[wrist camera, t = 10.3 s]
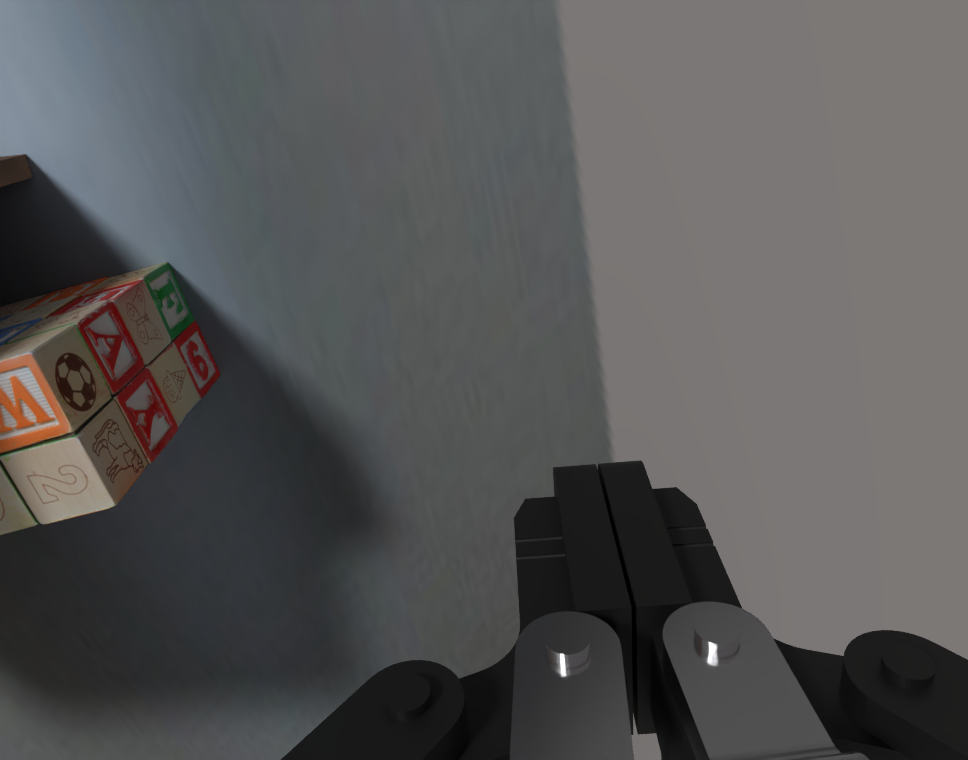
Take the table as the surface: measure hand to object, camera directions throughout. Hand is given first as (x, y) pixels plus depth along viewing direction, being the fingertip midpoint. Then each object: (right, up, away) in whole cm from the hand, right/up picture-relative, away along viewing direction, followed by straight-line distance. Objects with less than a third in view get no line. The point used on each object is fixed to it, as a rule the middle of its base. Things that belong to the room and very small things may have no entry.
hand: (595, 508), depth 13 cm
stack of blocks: (-26, +3, +26) cm, 37 cm away
